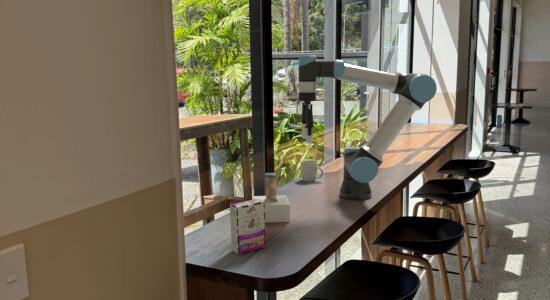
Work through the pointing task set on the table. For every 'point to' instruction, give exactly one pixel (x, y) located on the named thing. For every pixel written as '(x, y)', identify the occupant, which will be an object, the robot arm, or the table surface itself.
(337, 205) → the table surface
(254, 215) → the candy bar box
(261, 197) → the socket
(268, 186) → the peg
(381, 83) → the robot arm
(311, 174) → the mug
